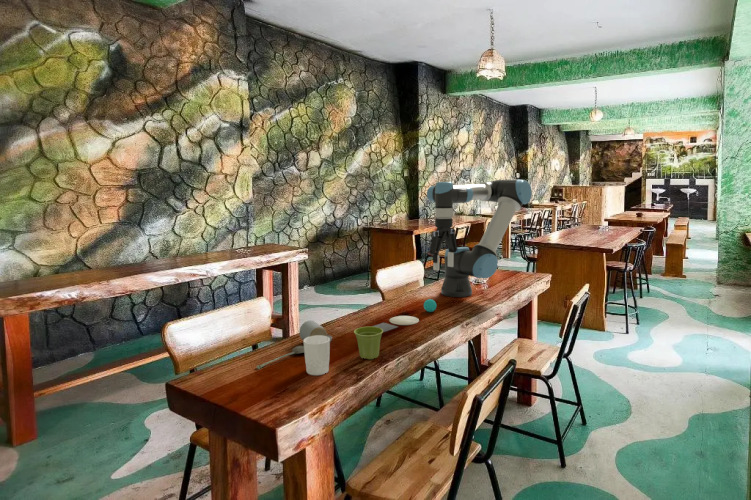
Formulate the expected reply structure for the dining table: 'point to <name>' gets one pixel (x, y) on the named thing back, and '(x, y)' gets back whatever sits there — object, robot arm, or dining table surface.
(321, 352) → the white cup
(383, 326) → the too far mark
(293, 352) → the soupspoon
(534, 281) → the dining table surface
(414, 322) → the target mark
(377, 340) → the plant pot
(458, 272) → the robot arm
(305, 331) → the ceramic mug
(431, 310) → the ball
